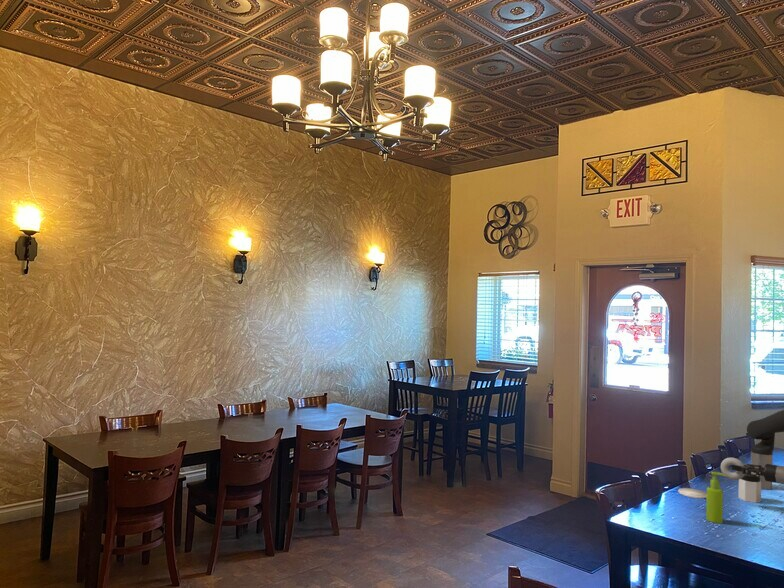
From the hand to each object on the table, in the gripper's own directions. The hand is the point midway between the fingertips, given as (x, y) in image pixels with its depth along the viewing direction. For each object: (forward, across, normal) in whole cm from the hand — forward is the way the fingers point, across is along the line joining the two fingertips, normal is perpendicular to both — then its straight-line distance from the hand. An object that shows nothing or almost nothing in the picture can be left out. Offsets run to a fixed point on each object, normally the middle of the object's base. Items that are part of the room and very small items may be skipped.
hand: (733, 466), depth 260 cm
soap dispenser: (0, +30, +17) cm, 35 cm away
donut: (0, 0, +6) cm, 6 cm away
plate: (+17, -3, +17) cm, 25 cm away
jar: (-4, -15, +18) cm, 23 cm away
